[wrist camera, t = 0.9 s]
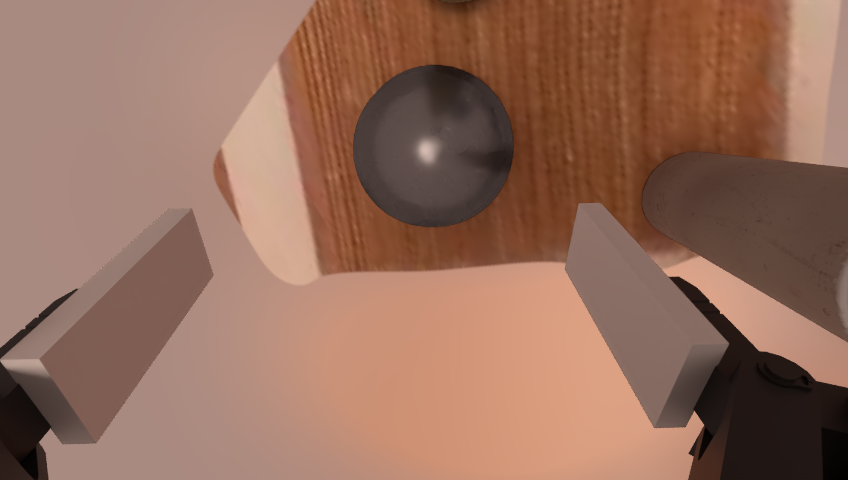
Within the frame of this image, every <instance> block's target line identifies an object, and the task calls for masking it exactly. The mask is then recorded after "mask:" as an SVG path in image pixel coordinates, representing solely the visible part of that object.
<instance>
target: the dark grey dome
mask: <svg viewBox="0 0 848 480" xmlns="http://www.w3.org/2000/svg"><path fill="white" fill-rule="evenodd" d="M353 156H354V163H355V167H356V171H357V175H358V177H359V179H360V182H361V184H362V186H363V188H364V189H365V191H366V193H367V194H368V195H369V197H370V198H371V199H372V201H373V202H374V203H375V204H376V205H377V206H378V207H379V208H381V209H382V210H383V211H384V212H385V213H387V214H388V215H390V216H392V217H393V218H395V219H397V220H400V221H402V222H405V223H408V224H411V225H416V226H423V227H441V226H449V225H454V224H457V223H460V222H463V221H465V220H467V219H469V218H471V217H473V216H475V215H476V214H478V213H479V212H481V211H482V210H483V209H484V208H486V207H487V206H488V205H489V204H490V203H491V202H492V201H493V200H494V198H495V197H496V196H497V195H498V193H499V192H500V190H501V189H502V187H503V185H504V183H505V181H506V179H507V176H508V173H509V171H510V167H511V163H512V158H513V135H512V129H511V125H510V122H509V118H508V115H507V113H506V111H505V109H504V107H503V105H502V103H501V102H500V100H499V99H498V97H497V96H496V95H495V94H494V92H493V91H492V90H491V89H490V88H489V87H488V86H487V85H486V84H484V83H483V82H482V81H481V80H479V79H478V78H476V77H475V76H473V75H472V74H469V73H467V72H465V71H463V70H460V69H457V68H454V67H449V66H442V65H427V66H420V67H416V68H413V69H409V70H407V71H404V72H402V73H400V74H398V75H396V76H395V77H393V78H392V79H390V80H389V81H387V82H386V83H385V84H384V85H383V86H381V88H380V89H379V90H378V91H377V92H376V93H375V94H374V95H373V97H372V98H371V99H370V100H369V102H368V103H367V104H366V106H365V107H364V109H363V111H362V113H361V115H360V117H359V120H358V123H357V125H356V130H355V134H354V142H353Z"/></svg>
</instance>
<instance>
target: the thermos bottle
mask: <svg viewBox="0 0 848 480" xmlns="http://www.w3.org/2000/svg"><path fill="white" fill-rule="evenodd" d="M642 207H643V210H644V214H645V216H646V218H647V220H648V221H649V223H650V224H651V225H652V226H653V227H654V228H655V229H657V230H658V231H659V232H661V233H662V234H664V235H666V236H667V237H669V238H671V239H672V240H674V241H676V242H678V243H680V244H681V245H683V246H685V247H686V248H688V249H690V250H691V251H693V252H695V253H696V254H698V255H700V256H702V257H703V258H705V259H707V260H708V261H710V262H712V263H713V264H715V265H717V266H719V267H720V268H722V269H724V270H725V271H727V272H729V273H731V274H732V275H734V276H736V277H737V278H739V279H741V280H743V281H744V282H746V283H748V284H749V285H751V286H753V287H754V288H756V289H758V290H759V291H761V292H763V293H765V294H766V295H768V296H770V297H771V298H773V299H775V300H776V301H778V302H780V303H782V304H784V305H785V306H787V307H789V308H790V309H792V310H794V311H795V312H797V313H799V314H800V315H802V316H804V317H805V318H807V319H809V320H811V321H812V322H814V323H816V324H817V325H819V326H821V327H822V328H824V329H826V330H828V331H829V332H831V333H833V334H834V335H836V336H838V337H840V338H841V339H843V340H845V341H846V342H848V168H844V167H834V166H825V165H817V164H808V163H798V162H789V161H780V160H771V159H761V158H753V157H744V156H735V155H725V154H716V153H707V152H687V153H682V154H679V155H676V156H673V157H672V158H670V159H668V160H666V161H664V162H663V163H662V164H661V165H659V166H658V167H657V168H656V169H655V170H654V171H653V173H652V174H651V175H650V177H649V178H648V180H647V182H646V184H645V187H644V190H643V195H642Z"/></svg>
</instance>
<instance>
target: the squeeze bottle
mask: <svg viewBox="0 0 848 480" xmlns="http://www.w3.org/2000/svg"><path fill="white" fill-rule="evenodd" d="M440 1H443V2H446V3H450V4H455V3H462V2H469V1H472V0H440Z"/></svg>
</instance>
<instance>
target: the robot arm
mask: <svg viewBox="0 0 848 480" xmlns="http://www.w3.org/2000/svg"><path fill="white" fill-rule="evenodd" d="M565 271H566V272H567V274H568V276H569V278H570V279H571V281H572V283H573V285H574V286H575V288H576V290H577V292H578V294H579V295H580V297H581V299H582V300H583V303H584V304H585V306H586V308H587V310H588V311H589V313H590V315H591V317H592V318H593V320H594V322H595V324H596V326H597V327H598V329H599V331H600V333H601V334H602V336H603V338H604V340H605V342H606V343H607V345H608V347H609V349H610V350H611V352H612V354H613V356H614V358H615V359H616V361H617V363H618V365H619V366H620V368H621V370H622V372H623V374H624V375H625V377H626V379H627V381H628V382H629V384H630V386H631V388H632V390H633V391H634V393H635V395H636V397H637V398H638V400H639V402H640V404H641V406H642V407H643V409H644V411H645V413H646V414H647V416H648V418H649V420H650V422H651V423H652V425H653V427H654V428H673V427H686V425H687V423H688V421H689V420H690V418H691V416H692V414H693V412H694V411H695V412H696V413H697V415H698V416H699V418H700V419H701V421H702V422H703V424H704V427H703V428H702V431H701V432H700V434H699V436H698V437H697V439H696V441H695V443H694V445H693V446H692V448H691V450H690V452H689V454H690V455H692V456H694V458H693V462H692V466H691V471H690V475H689V479H688V480H848V388H846V387H841V386H836V385H832V384H827V383H822V382H818V381H815V379H814V378H813V377H812V376H811V375H810V374H809V373H808V372H807V371H806V370H804V369H803V368H802V367H800V366H798V365H797V364H796V363H794V362H792V361H790V360H788V359H786V358H784V357H782V356H779V355H776V354H772V353H768V352H760V351H758V350H757V349H756V348H755V347H754V345H753V344H752V343H751V342H750V341H749V340H748V339H747V338H746V337H745V336H744V335H742V333H741V332H740V331H739V330H738V329H737V328H736V327H735V326H734V325H733V324H732V323H731V322H730V321H729V320H728V319H727V318H726V317H725V316H724V315H723V314H720V311H719V310H718V309H717V308H716V307H715V306H714V305H713V304H712V303H710V302H709V299H708V298H707V297H706V296H705V295H704V294H703V293H702V292H701V291H700V290H699V289H698V288H697V287H695V286H693V285H692V284H690V283H688V282H687V281H685V280H683V279H682V278H680V277H668V276H667V275H666V274H665V273H664V272H663V271H662V269H661V268H660V267H659V266H658V265H657V264H656V263H655V262H654V261H653V260H652V258H651V257H650V256H649V255H648V254H647V253H646V252H645V251H644V250H643V249H642V248H641V246H640V245H639V244H638V243H637V242H636V241H635V240H634V239H633V238H632V237H631V235H630V234H629V233H628V232H627V231H626V230H625V229H624V228H623V227H622V226H621V225H620V223H619V222H618V221H617V220H616V219H615V218H614V217H613V216H612V215H611V214H610V212H609V211H608V210H607V209H606V208H605V207H604V206H603V205H602V204H601V203H579V205H578V209H577V214H576V219H575V223H574V228H573V233H572V237H571V242H570V247H569V251H568V256H567V261H566V266H565ZM212 277H213V272H212V269H211V266H210V263H209V259H208V257H207V253H206V250H205V247H204V244H203V241H202V238H201V235H200V232H199V229H198V226H197V222H196V220H195V216H194V213H193V210H192V209H191V208H189V209H168V210H167V211H166V212H165V213H164V214H162V215H161V216H160V217H159V218H158V219H157V220H156V221H155V222H153V223H152V224H151V225H150V226H149V227H148V228H147V229H146V230H145V231H143V232H142V233H141V234H140V235H139V236H138V237H137V238H135V239H134V240H133V241H132V242H131V243H130V244H129V245H128V246H127V247H125V248H124V249H123V250H122V251H121V252H120V253H119V254H118V255H116V256H115V257H114V258H113V259H112V260H111V261H110V262H109V263H107V264H106V265H105V266H104V267H103V268H102V269H101V270H100V271H99V272H97V273H96V274H95V275H94V276H93V277H92V278H91V279H90V280H88V282H86V283H85V284H84V285H83V286H82V287H81V288H79V289H75V290H73V291H72V292H70V293H68V294H66V295H65V296H63V297H61V298H59V299H58V300H56V301H54V302H53V303H52V304H51V305H50V306H49V307H47V308H46V309H45V310H44V311H43V312H42V313H41V314H39V317H38V318H35V319H33V320H32V321H31V322H30V323H29V324H28V325H26V328H25V329H22V330H21V331H20V332H18V333H17V334H16V335H15V336H14V337H13V338H11V339H10V340H9V341H8V342H7V343H6V344H5V345H3V346H2V347H1V348H0V480H48V472H47V463H46V453H45V451H44V449H43V448H42V446H41V445H40V443H39V441H40V440H41V439H42V438H43V437H44V435H45V434H46V433H47V432H48V430H49V429H50V428H51V429H52V431H53V432H54V433H55V435H56V436H57V437H58V439H59V440H60V441H61V443H62V444H89V443H97V441H98V440H99V439H100V437H101V436H102V434H103V433H104V431H105V430H106V429H107V427H108V426H109V424H110V423H111V422H112V420H113V419H114V417H115V415H116V414H117V413H118V412H119V410H120V409H121V407H122V406H123V404H124V403H125V401H126V400H127V399H128V397H129V396H130V394H131V393H132V391H133V390H134V389H135V387H136V386H137V384H138V383H139V381H140V380H141V378H142V377H143V375H144V374H145V373H146V371H147V370H148V369H149V367H150V366H151V364H152V363H153V361H154V360H155V358H156V357H157V356H158V354H159V353H160V351H161V350H162V348H163V347H164V346H165V344H166V343H167V341H168V340H169V338H170V337H171V336H172V334H173V333H174V331H175V330H176V328H177V327H178V325H179V324H180V323H181V321H182V320H183V318H184V317H185V316H186V314H187V313H188V311H189V310H190V308H191V307H192V305H193V304H194V303H195V301H196V300H197V298H198V297H199V295H200V294H201V293H202V291H203V289H204V288H205V287H206V285H207V284H208V283H209V281H210V280H211V278H212Z"/></svg>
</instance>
